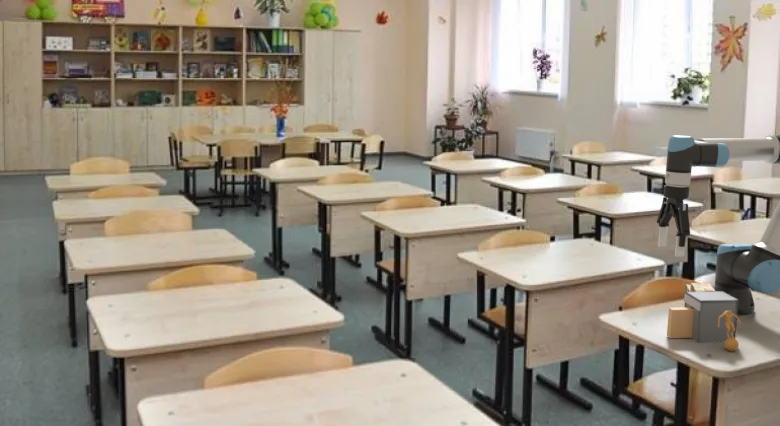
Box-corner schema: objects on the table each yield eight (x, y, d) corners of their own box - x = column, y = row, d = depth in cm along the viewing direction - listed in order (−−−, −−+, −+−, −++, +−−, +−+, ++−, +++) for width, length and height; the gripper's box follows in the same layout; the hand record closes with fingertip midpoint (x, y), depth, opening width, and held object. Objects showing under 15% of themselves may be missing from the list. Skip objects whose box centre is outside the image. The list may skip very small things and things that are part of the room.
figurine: (723, 354, 247) (726, 314, 245) (710, 347, 253) (713, 308, 251) (747, 351, 250) (750, 312, 248) (733, 345, 255) (737, 307, 253)
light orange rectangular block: (709, 334, 264) (712, 306, 262) (713, 337, 262) (715, 309, 260) (666, 335, 262) (669, 307, 261) (670, 338, 260) (672, 309, 258)
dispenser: (718, 331, 268) (722, 291, 266) (734, 341, 259) (738, 300, 256) (681, 332, 267) (684, 291, 265) (696, 342, 257) (699, 300, 255)
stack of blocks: (683, 310, 291) (686, 275, 289) (702, 311, 290) (705, 276, 288) (693, 329, 270) (696, 292, 268) (714, 330, 269) (717, 293, 267)
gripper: (650, 179, 276) (644, 242, 280) (681, 191, 252) (675, 260, 256) (672, 179, 277) (666, 243, 281) (706, 191, 252) (699, 261, 256)
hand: (670, 251), depth 268 cm, fingers open, 13 cm apart
